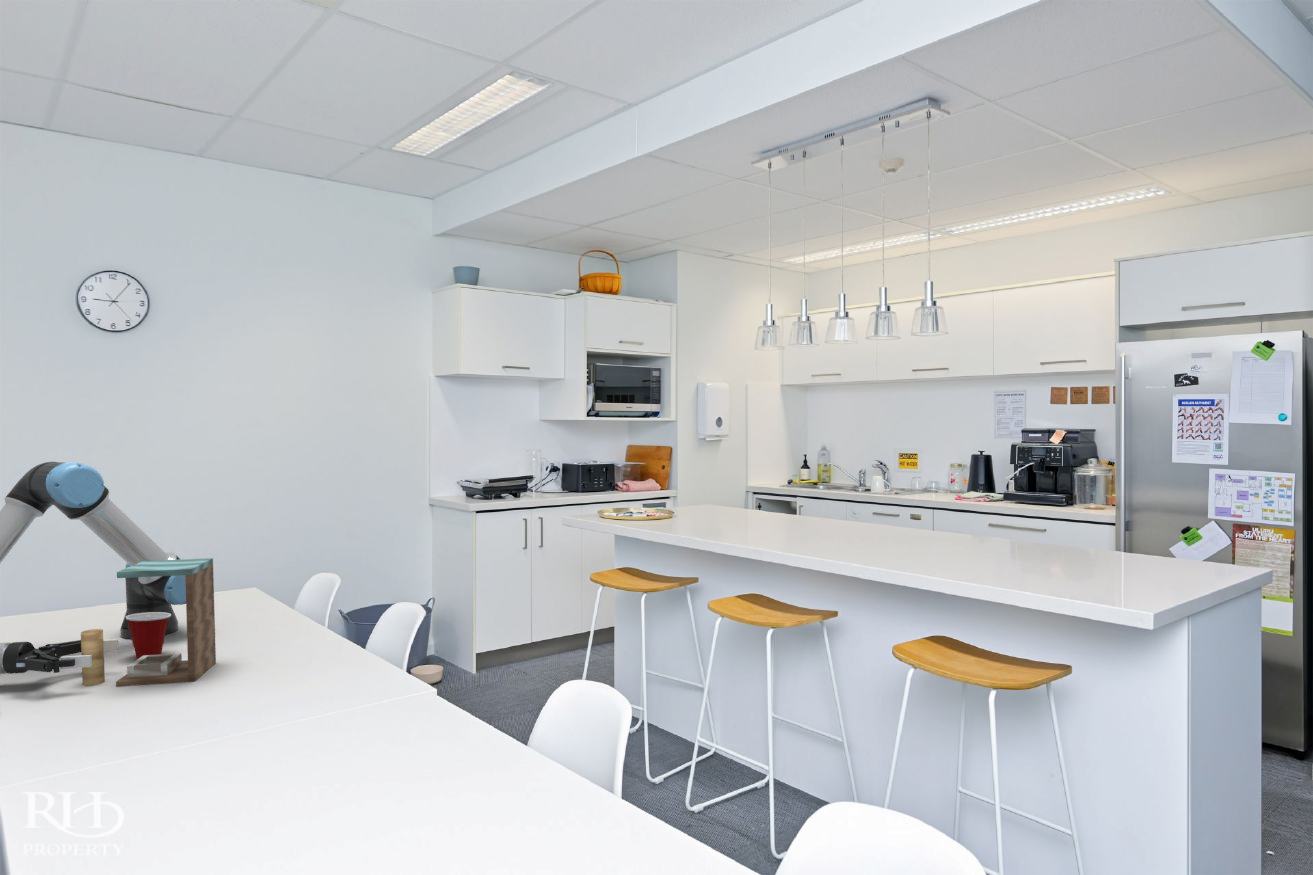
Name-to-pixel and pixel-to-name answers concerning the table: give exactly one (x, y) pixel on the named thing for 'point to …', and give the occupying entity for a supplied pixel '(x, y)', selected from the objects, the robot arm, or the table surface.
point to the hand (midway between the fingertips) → (105, 652)
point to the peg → (93, 656)
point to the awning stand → (198, 624)
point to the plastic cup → (148, 632)
